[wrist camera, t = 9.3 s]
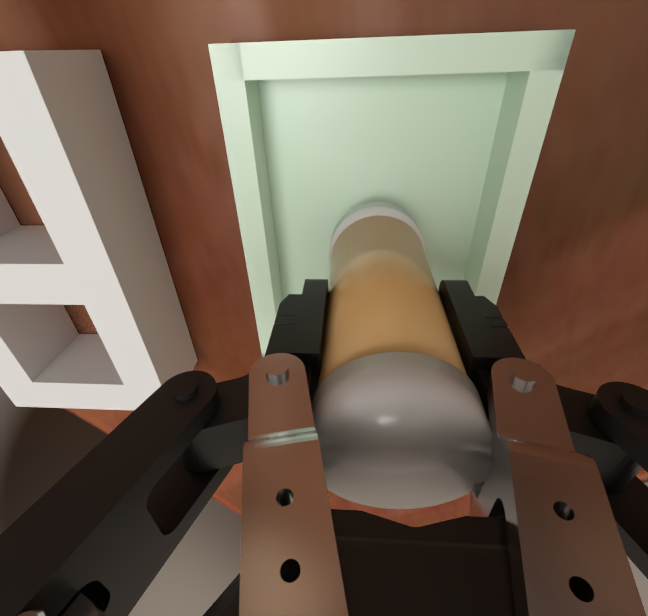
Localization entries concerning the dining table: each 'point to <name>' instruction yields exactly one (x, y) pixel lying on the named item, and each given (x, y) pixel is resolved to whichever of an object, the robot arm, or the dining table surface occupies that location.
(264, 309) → the parts tray
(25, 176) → the frame
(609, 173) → the dining table surface
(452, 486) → the fuse
